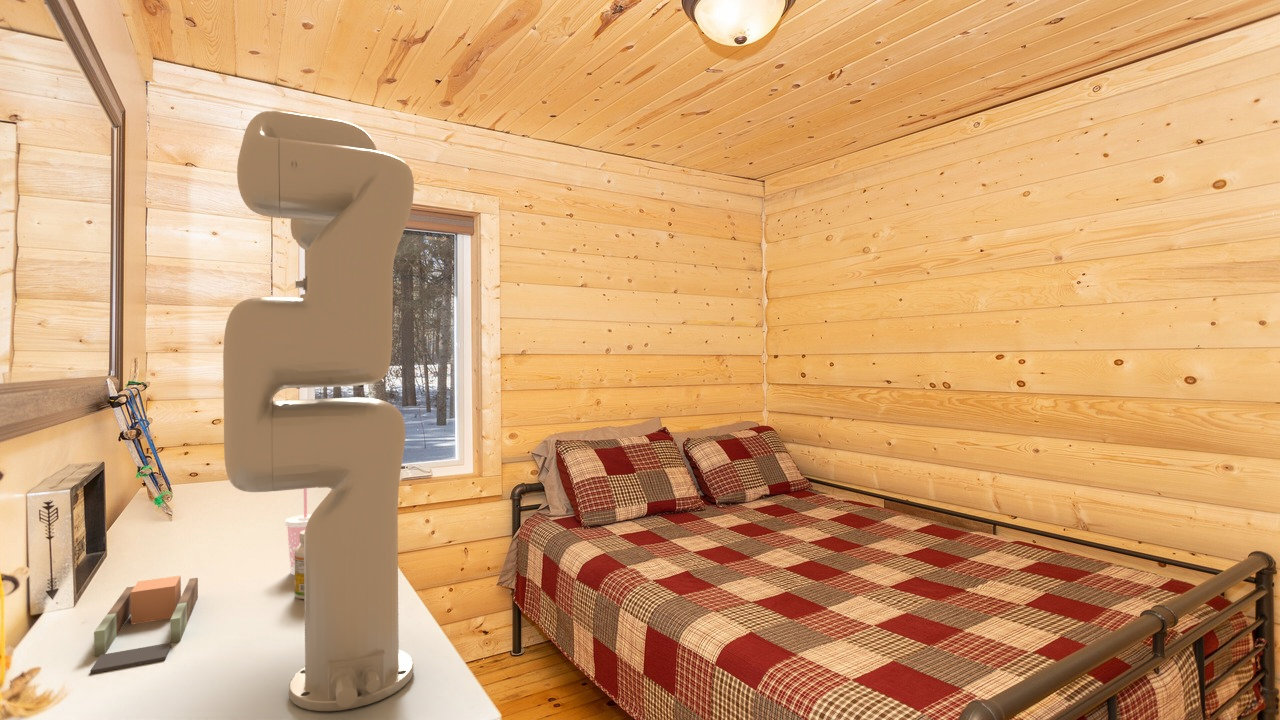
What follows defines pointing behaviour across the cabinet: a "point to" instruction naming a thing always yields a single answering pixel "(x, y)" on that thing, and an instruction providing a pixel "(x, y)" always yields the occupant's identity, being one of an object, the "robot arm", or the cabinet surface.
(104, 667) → the thin dark grey plate
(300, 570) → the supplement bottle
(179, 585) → the block
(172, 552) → the cabinet surface
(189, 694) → the cabinet surface
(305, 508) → the beverage cup
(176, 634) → the pair of guide rails
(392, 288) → the robot arm
